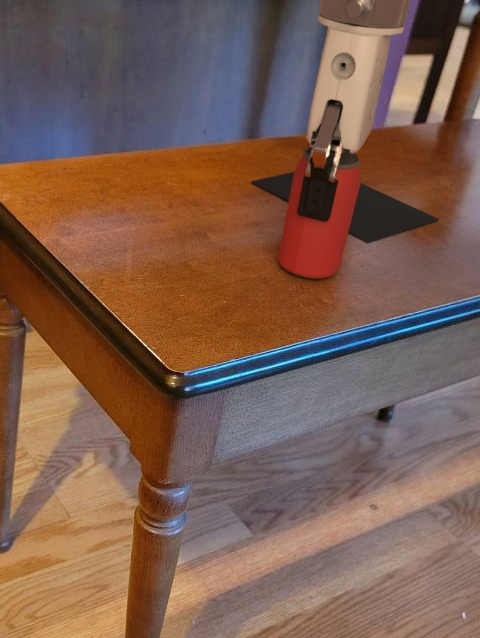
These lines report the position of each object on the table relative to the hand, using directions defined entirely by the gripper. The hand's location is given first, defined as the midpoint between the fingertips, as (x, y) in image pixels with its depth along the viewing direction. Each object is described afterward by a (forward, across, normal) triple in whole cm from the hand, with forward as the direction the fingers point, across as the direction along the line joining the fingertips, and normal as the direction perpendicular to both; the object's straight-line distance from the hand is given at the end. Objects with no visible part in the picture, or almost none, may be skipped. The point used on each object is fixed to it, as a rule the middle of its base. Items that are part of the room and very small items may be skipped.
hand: (321, 203), depth 75 cm
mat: (+8, +22, 0) cm, 23 cm away
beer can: (+7, 0, 0) cm, 7 cm away
